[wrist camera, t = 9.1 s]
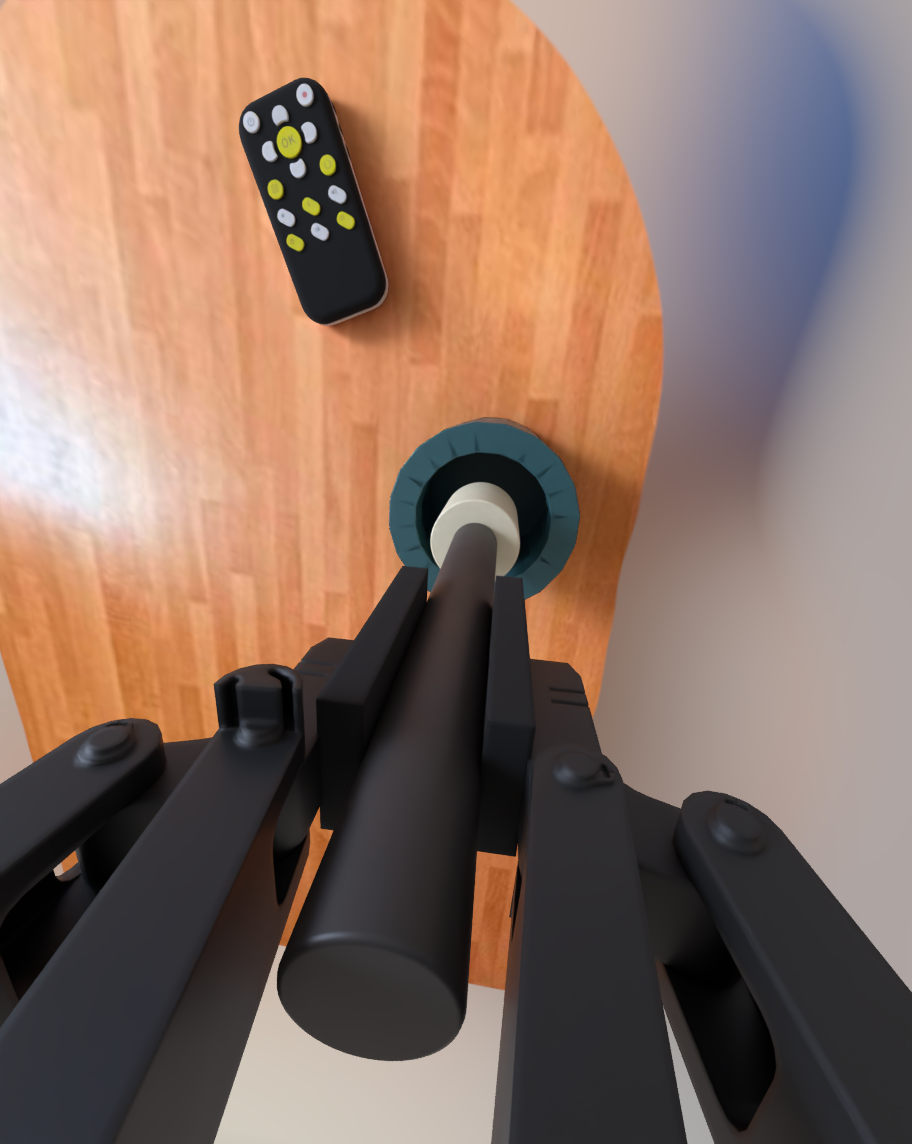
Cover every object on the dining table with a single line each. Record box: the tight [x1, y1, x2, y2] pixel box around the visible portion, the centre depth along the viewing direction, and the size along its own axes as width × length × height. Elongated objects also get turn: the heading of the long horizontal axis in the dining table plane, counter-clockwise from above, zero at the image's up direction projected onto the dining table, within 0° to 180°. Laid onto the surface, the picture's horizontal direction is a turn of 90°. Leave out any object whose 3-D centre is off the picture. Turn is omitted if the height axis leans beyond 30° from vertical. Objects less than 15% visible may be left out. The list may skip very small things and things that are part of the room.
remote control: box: [239, 78, 388, 326], centre depth 31 cm, size 6×13×2 cm, turn 17°
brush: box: [277, 482, 520, 1061], centre depth 15 cm, size 4×4×22 cm
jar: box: [389, 417, 580, 599], centre depth 31 cm, size 10×10×12 cm
